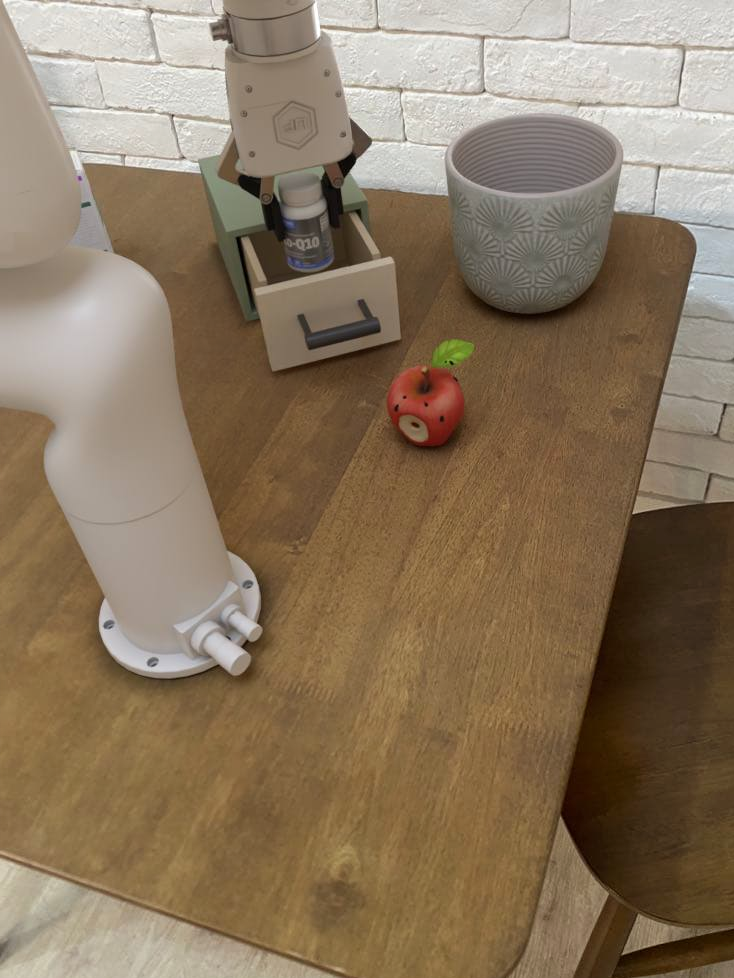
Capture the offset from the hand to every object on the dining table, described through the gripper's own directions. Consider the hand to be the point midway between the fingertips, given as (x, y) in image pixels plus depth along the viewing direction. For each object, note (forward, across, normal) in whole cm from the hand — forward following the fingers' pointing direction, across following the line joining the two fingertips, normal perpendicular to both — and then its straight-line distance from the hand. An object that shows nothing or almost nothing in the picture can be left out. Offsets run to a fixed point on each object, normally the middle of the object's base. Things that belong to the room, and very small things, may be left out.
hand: (305, 226), depth 90 cm
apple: (+11, +5, -21) cm, 24 cm away
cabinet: (+11, 0, +12) cm, 17 cm away
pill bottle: (+4, 0, 0) cm, 4 cm away
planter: (+12, +22, -3) cm, 25 cm away
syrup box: (+12, -22, +18) cm, 31 cm away
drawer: (+10, 0, -2) cm, 11 cm away
